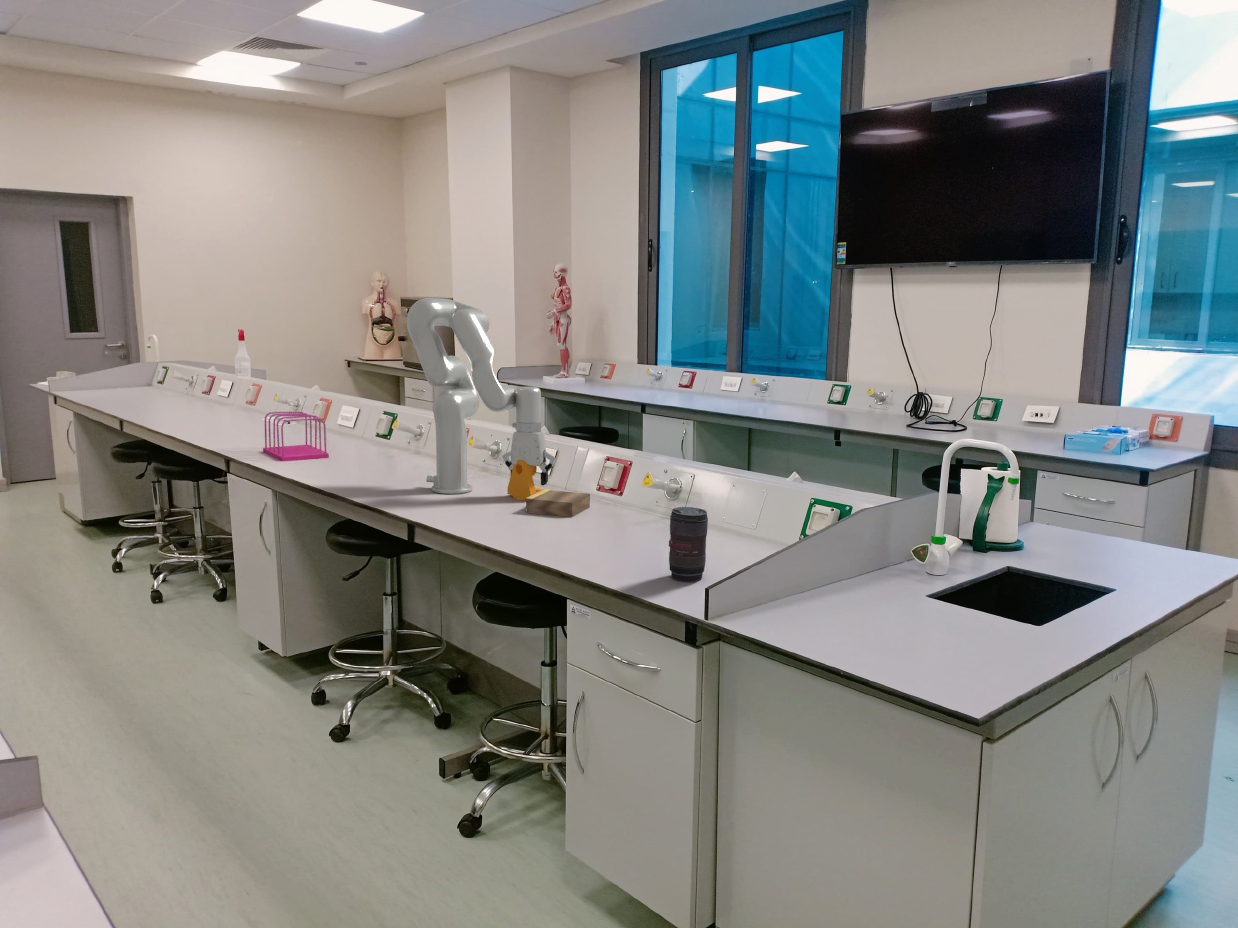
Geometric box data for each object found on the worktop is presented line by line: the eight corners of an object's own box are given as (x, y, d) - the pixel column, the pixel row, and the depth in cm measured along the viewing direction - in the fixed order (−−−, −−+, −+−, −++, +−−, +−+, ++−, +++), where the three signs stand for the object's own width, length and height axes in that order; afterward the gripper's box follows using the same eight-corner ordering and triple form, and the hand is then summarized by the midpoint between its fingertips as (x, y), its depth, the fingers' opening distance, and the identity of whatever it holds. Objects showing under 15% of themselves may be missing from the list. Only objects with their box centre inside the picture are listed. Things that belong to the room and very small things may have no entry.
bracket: (548, 499, 274) (549, 460, 272) (530, 502, 269) (530, 462, 267) (525, 493, 282) (525, 455, 280) (507, 496, 276) (507, 458, 274)
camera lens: (675, 584, 191) (678, 515, 189) (663, 573, 199) (665, 507, 196) (711, 582, 193) (714, 513, 191) (697, 571, 201) (700, 505, 198)
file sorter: (308, 449, 358) (306, 409, 356) (329, 458, 339) (327, 416, 336) (262, 452, 348) (261, 411, 346) (281, 461, 328) (279, 419, 326)
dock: (526, 512, 255) (526, 497, 254) (545, 502, 268) (545, 489, 268) (572, 517, 251) (572, 502, 250) (589, 507, 264) (590, 493, 263)
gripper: (497, 427, 271) (498, 483, 274) (550, 430, 266) (550, 487, 268) (508, 425, 278) (508, 479, 281) (560, 427, 273) (560, 483, 275)
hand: (529, 483), depth 275 cm, fingers open, 9 cm apart
